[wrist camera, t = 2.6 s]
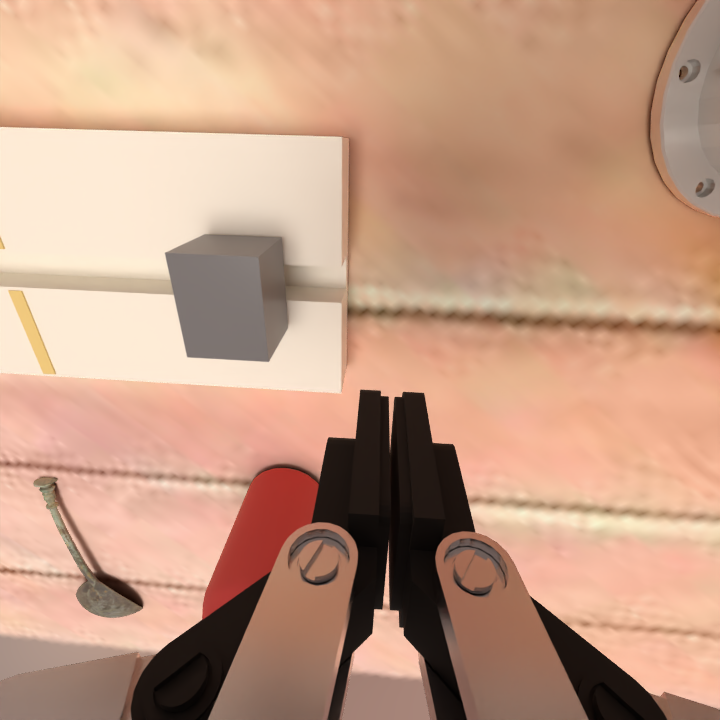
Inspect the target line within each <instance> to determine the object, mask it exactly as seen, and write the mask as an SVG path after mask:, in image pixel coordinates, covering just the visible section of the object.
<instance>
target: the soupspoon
mask: <svg viewBox="0 0 720 720" xmlns="http://www.w3.org/2000/svg"><path fill="white" fill-rule="evenodd" d="M56 481H57V479H56V478H49V477H41V478H39V479H36V480H35V481H34V483H33V485H34V486H35V487H40V489H39V490H40V491H41V492H42V493H43V494H42V495H43V496H44V500H45V501H46V502H47V505H46V508H47V509H50V512H51V514H52V517H53V519H54V521H55V524H56V526H57V528H58V530H59V532H60V534H61V536H62V538H63V540H64V542H65V544H66V545H67V547H68V549H69V551H70V553H71V555H72V556H73V558H74V560H75V562H76V564H77V566H78V567H79V569H80V570H81V572H82V573H83V575H84V576H85V577H86V579H87V580H88V581H87V582H85V583H84V584H82V585H81V586H80V587H79V589H78V590H77V593H76V597H77V599H78V601H79V602H80V604H81V605H82V606H83V607H84V608H85V609H86V610H88V611H89V612H91V613H93V614H95V615H98V616H102V617H109V618H116V617H123V616H127V615H131V614H133V613H136V612H138V611H140V610H141V609H142V607H141V606H139V605H137V604H136V603H134V602H132V601H130V600H128V599H127V598H125V597H123V596H122V595H120V594H119V593H117V592H115V591H114V590H112V589H111V588H109V587H108V586H106V585H105V584H103V583H102V582H100V581H99V580H98V579H97V578H96V577H95V575H94V574H93V573H92V571H91V570H90V569H89V567H88V566H87V564H86V563H85V561H84V560H83V558H82V556H81V554H80V552H79V551H78V549H77V547H76V545H75V543H74V542H73V540H72V538H71V536H70V534H69V532H68V530H67V528H66V526H65V524H64V522H63V520H62V518H61V515H60V513H59V511H58V509H57V506H58V505H59V503H58V502H55V499H56V493H55V490H54V489H55V484H53V483H54V482H56Z"/></svg>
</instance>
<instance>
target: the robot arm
mask: <svg viewBox="0 0 720 720" xmlns="http://www.w3.org/2000/svg"><path fill="white" fill-rule="evenodd" d="M680 69H681V70H682V75H681V77H680V78H679V71H680ZM650 139H651V144H652V150H653V155H654V161H655V164H656V166H657V168H658V170H659V173H660V175H661V177H662V180H663V182H664V183H665V184H666V185H667V187H668V188H669V189H670V190H671V192H672V193H673V194H674V195H675V197H676V198H678V199H679V200H681V201H682V202H683V203H685V204H686V205H688V206H689V207H690V208H692V209H694V210H696V211H699V212H702V213H704V214H707V215H710V216H713V217H718V218H720V0H697V2H696V3H695V5H694V6H693V8H692V9H691V10H690V12H689V13H688V15H687V16H686V18H685V20H684V21H683V23H682V25H681V27H680V29H679V31H678V33H677V35H676V37H675V39H674V41H673V42H672V44H671V46H670V48H669V50H668V53H667V56H666V58H665V61H664V64H663V67H662V69H661V72H660V75H659V78H658V80H657V84H656V89H655V94H654V99H653V104H652V109H651V133H650ZM696 187H697V188H696ZM388 542H389V597H390V610H397V611H399V627H402V628H404V636H405V637H406V639H407V640H408V641H409V642H410V643H411V644H412V645H413V646H414V647H415V649H416V650H417V651H418V657H419V665H420V670H421V675H422V680H423V686H424V690H425V695H426V700H427V705H428V711H429V716H430V720H720V710H719V709H716V708H713V707H710V706H707V705H704V704H700V703H697V702H694V701H691V700H688V699H685V698H682V697H679V696H676V695H673V694H669V693H666V692H664V693H663V694H662V695H661V696H660V697H659V696H656V695H653V694H650V693H648V692H647V691H646V690H645V689H644V688H643V687H642V686H641V685H640V684H639V683H638V682H637V681H636V680H635V679H633V678H632V677H631V676H630V675H628V674H627V673H626V672H625V671H623V670H622V669H621V668H620V667H618V666H617V665H616V664H615V663H613V662H612V661H611V660H610V659H608V658H607V657H606V656H605V655H603V654H602V653H601V652H600V651H598V650H597V649H596V648H595V647H593V646H592V645H591V644H590V643H588V642H587V641H586V640H585V639H583V638H582V637H581V636H580V635H578V634H577V633H576V632H575V631H573V630H572V629H571V628H570V627H568V626H567V625H566V624H565V623H563V622H562V621H561V620H560V619H558V618H557V617H556V616H555V615H553V614H552V613H551V612H550V611H548V610H547V609H546V608H545V607H543V606H542V605H541V604H540V603H538V602H537V601H536V600H535V599H533V598H532V597H531V596H530V595H529V593H528V591H527V589H526V587H525V585H524V583H523V581H522V579H521V577H520V574H519V572H518V570H517V568H516V566H515V564H514V562H513V561H512V559H511V557H510V556H509V554H508V553H507V552H506V551H505V550H504V549H503V548H502V547H501V546H500V545H499V544H498V543H497V542H495V541H493V540H492V539H490V538H488V537H487V536H484V535H481V534H478V533H475V529H474V524H473V520H472V516H471V512H470V508H469V504H468V500H467V495H466V491H465V487H464V483H463V479H462V475H461V471H460V467H459V462H458V458H457V454H456V450H455V447H454V445H453V444H439V443H432V437H431V431H430V425H429V419H428V413H427V407H426V401H425V395H424V393H414V392H403V395H402V397H395V399H394V411H393V423H392V435H391V447H390V442H389V397H386V396H381V391H375V390H360V399H359V410H358V420H357V430H356V439H349V438H331V437H329V438H328V440H327V445H326V450H325V455H324V460H323V465H322V471H321V476H320V481H319V486H318V491H317V496H316V502H315V507H314V512H313V517H312V522H311V524H308V525H305V526H303V527H301V528H299V529H297V530H296V531H295V532H294V533H292V534H291V535H290V536H289V537H288V538H287V540H286V541H285V543H284V545H283V546H282V548H281V550H280V552H279V555H278V557H277V559H276V562H275V564H274V566H273V569H272V571H270V572H269V573H268V574H266V575H265V576H263V577H262V578H261V579H259V580H258V581H256V582H255V583H254V584H252V585H251V586H249V587H248V588H246V589H245V590H244V591H242V592H241V593H239V594H238V595H237V596H235V597H234V598H232V599H231V600H230V601H228V602H227V603H225V604H224V605H223V606H221V607H220V608H218V609H217V610H215V611H214V612H213V613H211V614H210V615H208V616H207V617H206V618H204V619H203V620H201V621H200V622H199V623H197V624H196V625H194V626H193V627H192V628H190V629H189V630H187V631H186V632H184V633H183V634H182V635H180V636H179V637H177V638H176V639H175V640H173V641H172V642H170V643H169V644H168V645H166V646H165V647H164V648H163V649H162V650H161V651H160V652H159V653H157V654H155V655H150V656H144V657H140V655H139V653H138V652H135V653H130V654H125V655H119V656H114V657H109V658H103V659H98V660H92V661H87V662H82V663H76V664H71V665H66V666H60V667H55V668H49V669H44V670H39V671H34V672H28V673H22V674H18V675H15V676H12V677H9V678H7V679H4V680H1V681H0V720H342V717H343V712H344V707H345V702H346V696H347V691H348V685H349V681H350V675H351V670H352V665H353V660H354V651H355V650H356V649H357V648H358V647H359V646H360V645H361V644H362V643H363V642H364V641H365V640H366V639H367V638H368V637H369V636H370V635H371V634H372V631H373V617H374V609H382V607H383V596H384V585H385V574H386V564H387V553H388Z"/></svg>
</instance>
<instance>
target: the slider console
mask: <svg viewBox="0 0 720 720" xmlns="http://www.w3.org/2000/svg"><path fill="white" fill-rule="evenodd" d="M348 205H349V138H345V137H332V136H297V135H262V134H226V133H191V132H156V131H121V130H86V129H51V128H15V127H0V373H10V374H27V375H44V376H60V377H77V378H94V379H110V380H127V381H144V382H160V383H177V384H194V385H210V386H227V387H244V388H260V389H277V390H294V391H310V392H327V393H341V392H342V387H343V382H344V377H345V372H346V367H347V297H348ZM204 234H210V235H235V236H259V237H282V246H283V261H284V275H285V290H286V304H287V319H288V329H287V331H286V333H285V334H284V336H283V338H282V340H281V341H280V343H279V345H278V347H277V349H276V350H275V352H274V354H273V356H272V357H271V359H270V361H269V362H260V361H243V360H225V359H207V358H190V357H187V354H186V350H185V345H184V340H183V336H182V331H181V326H180V322H179V317H178V312H177V308H176V303H175V298H174V294H173V289H172V284H171V280H170V275H169V270H168V266H167V261H166V256H165V252H168V251H170V250H172V249H174V248H176V247H178V246H180V245H183V244H185V243H187V242H189V241H191V240H193V239H195V238H198V237H200V236H202V235H204Z"/></svg>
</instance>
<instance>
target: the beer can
mask: <svg viewBox="0 0 720 720" xmlns="http://www.w3.org/2000/svg"><path fill="white" fill-rule="evenodd" d="M318 486H319V485H318V483H317V482H316V481H315V480H314V479H312V478H311V477H310V476H309V475H307V474H305V473H303V472H301V471H298V470H295V469H290V468H274V469H271V470H267V471H264V472H262V473H261V474H260V475H258V476H257V477H256V478H254V480H253V481H252V483H251V485H250V487H249V489H248V491H247V494H246V496H245V499H244V501H243V503H242V506H241V508H240V511H239V513H238V515H237V518H236V520H235V523H234V525H233V527H232V530H231V532H230V535H229V537H228V539H227V542H226V544H225V547H224V549H223V551H222V554H221V556H220V559H219V561H218V563H217V566H216V568H215V571H214V573H213V575H212V578H211V580H210V583H209V585H208V587H207V590H206V592H205V597H204V602H203V615H202V620H203V619H204V618H206V617H207V616H208V615H210V614H211V613H213V612H214V611H215V610H217V609H218V608H220V607H221V606H223V605H224V604H225V603H227V602H228V601H230V600H231V599H232V598H234V597H235V596H237V595H238V594H239V593H241V592H242V591H244V590H245V589H246V588H248V587H249V586H251V585H252V584H254V583H255V582H256V581H258V580H259V579H261V578H262V577H263V576H265V575H266V574H268V573H269V572H270V571H272V569H273V566H274V564H275V562H276V559H277V557H278V555H279V552H280V550H281V548H282V546H283V545H284V543H285V541H286V540H287V538H288V537H289V536H290V535H291V534H292V533H294V532H295V531H296V530H297V529H299V528H301V527H303V526H305V525H308V524H311V522H312V517H313V512H314V507H315V502H316V496H317V491H318Z"/></svg>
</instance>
